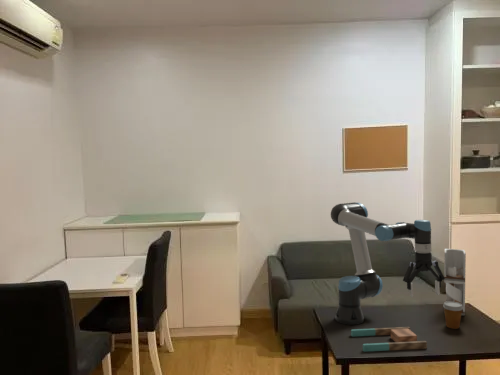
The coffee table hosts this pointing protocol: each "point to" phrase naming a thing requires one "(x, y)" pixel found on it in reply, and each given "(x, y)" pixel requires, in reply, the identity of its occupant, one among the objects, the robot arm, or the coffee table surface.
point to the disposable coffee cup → (452, 314)
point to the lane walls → (401, 344)
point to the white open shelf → (455, 276)
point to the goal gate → (373, 345)
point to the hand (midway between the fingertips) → (424, 295)
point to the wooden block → (403, 335)
